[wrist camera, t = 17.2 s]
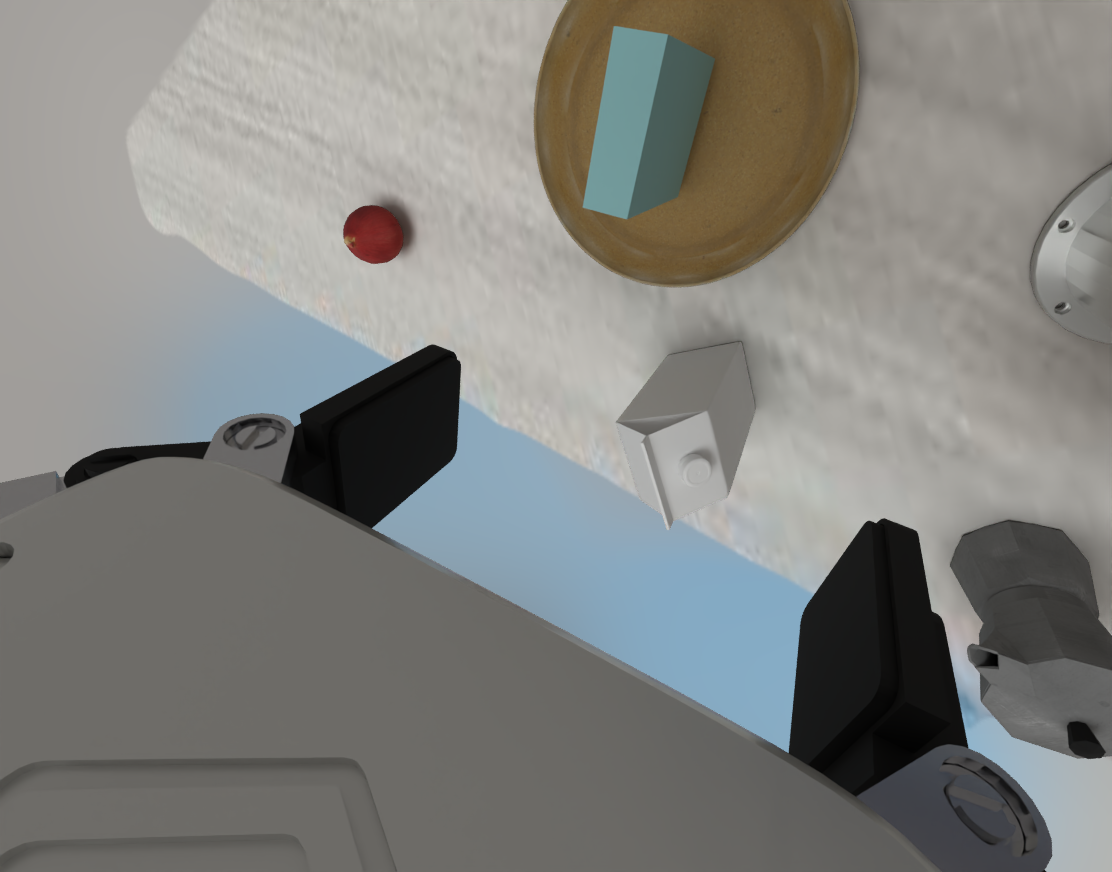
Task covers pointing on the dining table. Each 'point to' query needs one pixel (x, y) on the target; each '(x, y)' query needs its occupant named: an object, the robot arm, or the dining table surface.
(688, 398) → the milk carton
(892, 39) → the dining table surface
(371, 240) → the onion
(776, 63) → the plant saucer
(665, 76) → the teal board
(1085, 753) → the coffeepot
